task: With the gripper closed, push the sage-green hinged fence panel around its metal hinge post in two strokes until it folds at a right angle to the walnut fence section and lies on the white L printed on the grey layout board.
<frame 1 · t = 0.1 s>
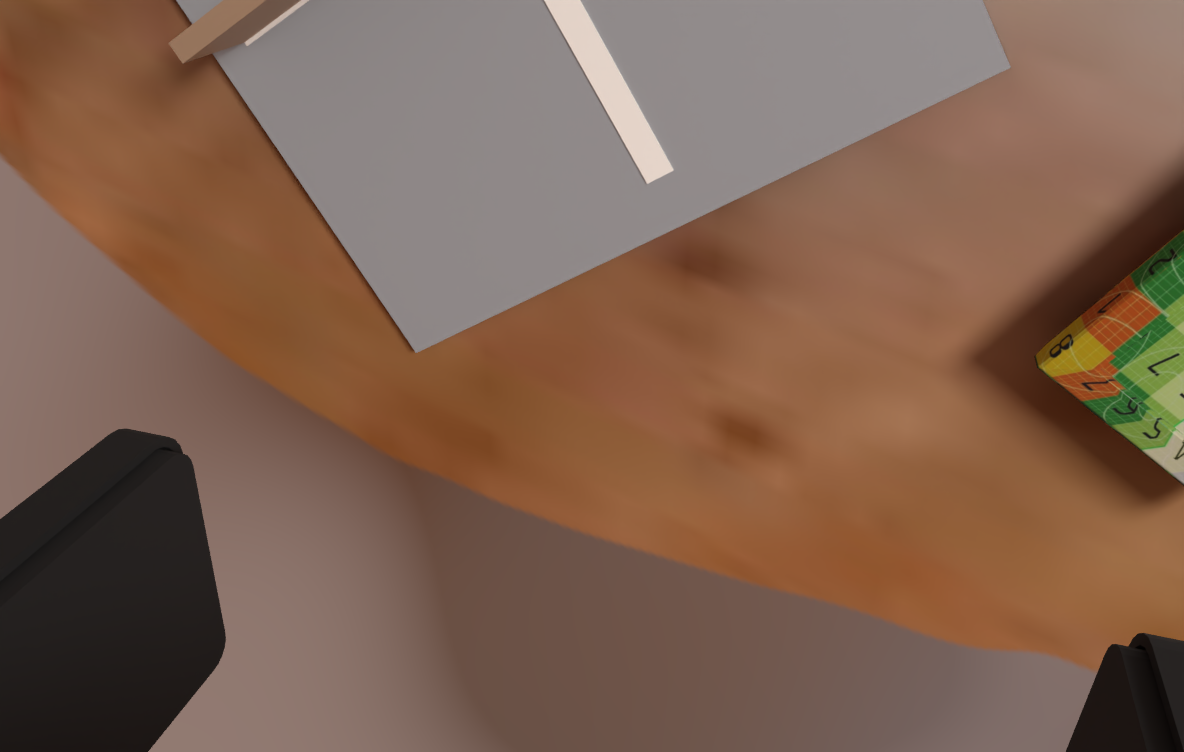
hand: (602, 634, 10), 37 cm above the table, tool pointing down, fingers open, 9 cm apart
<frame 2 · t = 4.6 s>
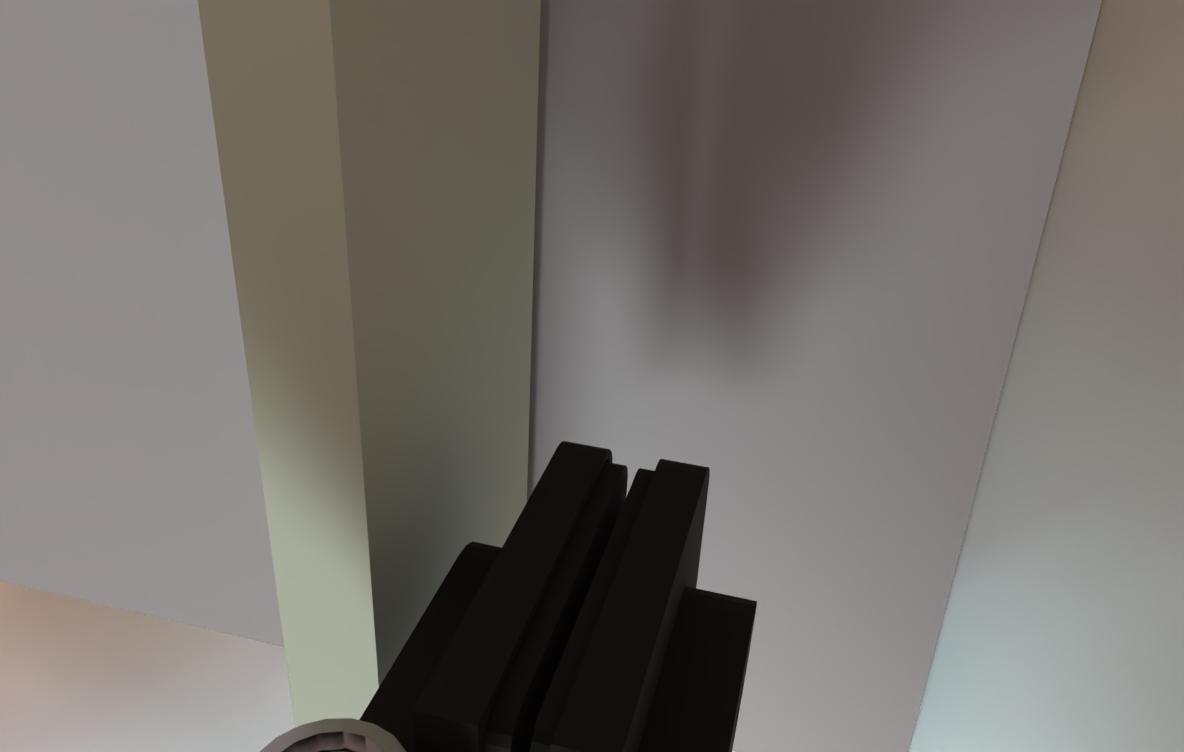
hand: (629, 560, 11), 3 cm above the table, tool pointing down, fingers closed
gate panel: (423, 466, 11), point 3 cm above the table, hinge at -2.0°, touching gripper
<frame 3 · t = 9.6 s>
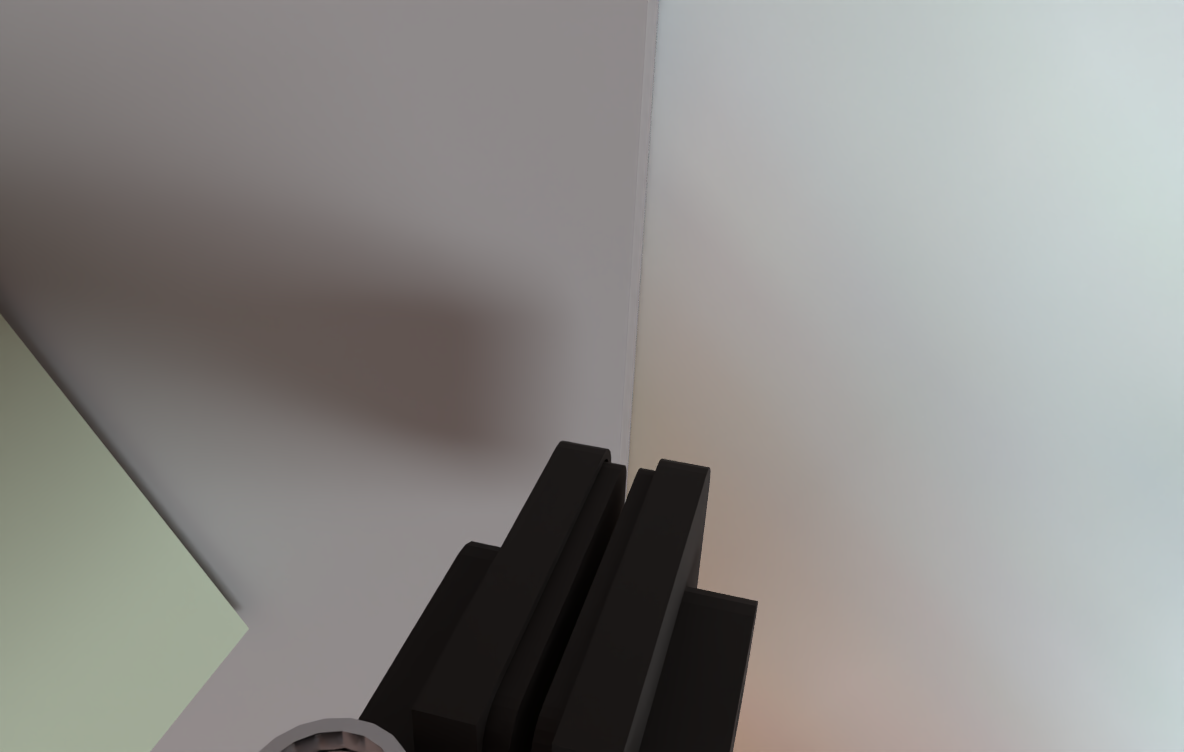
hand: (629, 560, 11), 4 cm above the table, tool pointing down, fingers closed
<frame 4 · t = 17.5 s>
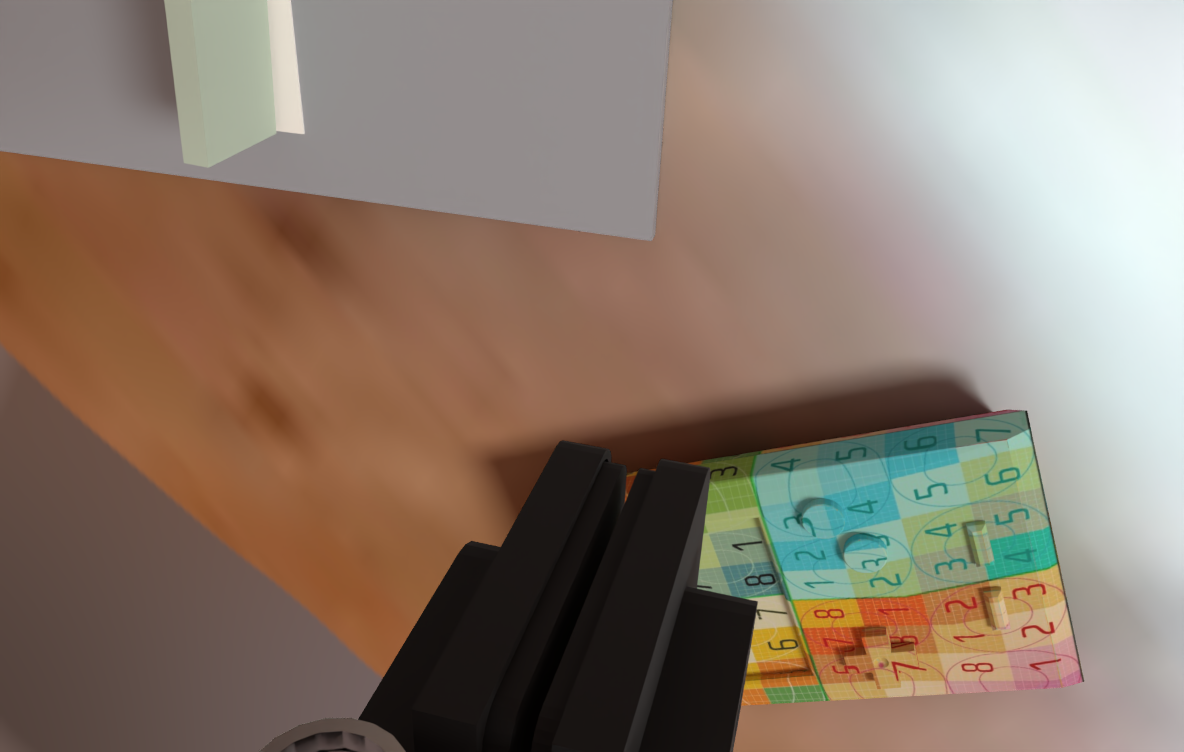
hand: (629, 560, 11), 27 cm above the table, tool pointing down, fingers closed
puzzle game: (800, 532, 44), on the table
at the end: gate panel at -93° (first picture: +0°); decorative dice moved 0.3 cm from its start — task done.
